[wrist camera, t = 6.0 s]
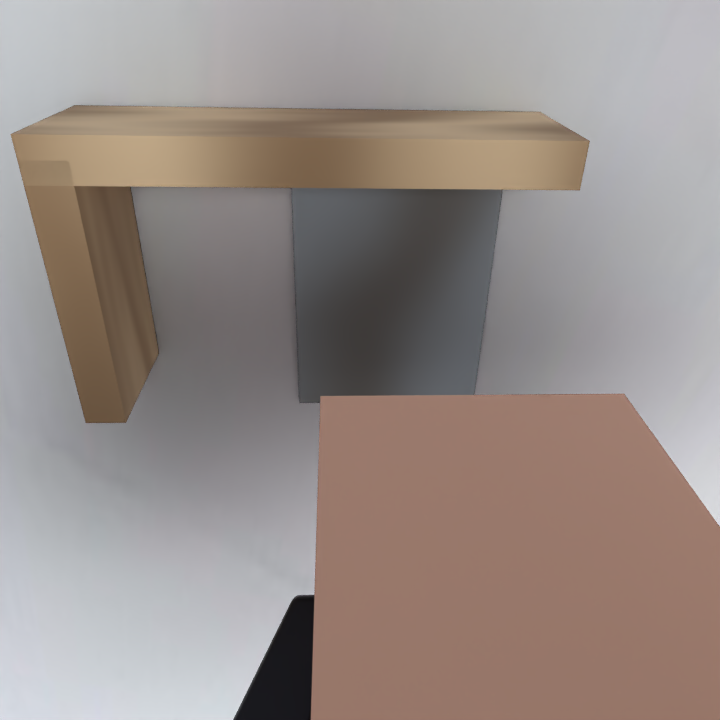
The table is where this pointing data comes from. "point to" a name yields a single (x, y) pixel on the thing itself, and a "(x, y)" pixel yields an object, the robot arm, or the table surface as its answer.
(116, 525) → the table surface
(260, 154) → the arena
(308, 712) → the robot arm
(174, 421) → the table surface
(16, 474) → the table surface
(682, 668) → the terracotta block
